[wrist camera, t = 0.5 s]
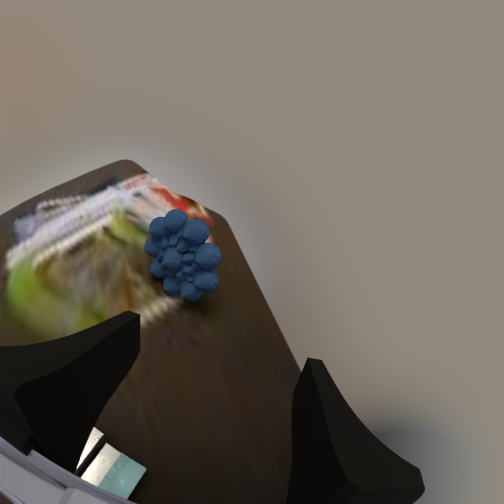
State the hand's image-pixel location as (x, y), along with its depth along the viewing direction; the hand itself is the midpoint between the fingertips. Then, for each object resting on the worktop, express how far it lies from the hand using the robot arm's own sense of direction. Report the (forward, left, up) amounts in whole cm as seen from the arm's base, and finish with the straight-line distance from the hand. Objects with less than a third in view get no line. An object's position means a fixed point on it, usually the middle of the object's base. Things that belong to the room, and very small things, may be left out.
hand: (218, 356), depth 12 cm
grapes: (+18, +9, -19) cm, 27 cm away
